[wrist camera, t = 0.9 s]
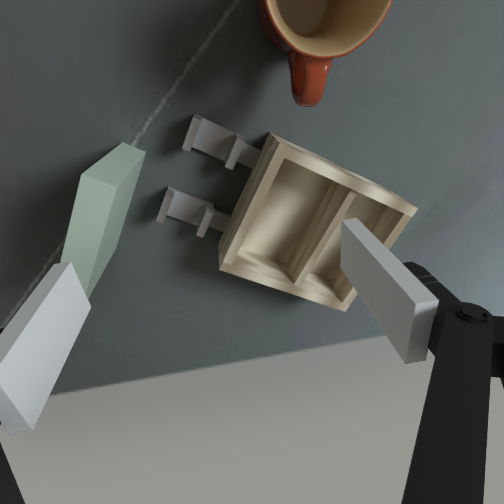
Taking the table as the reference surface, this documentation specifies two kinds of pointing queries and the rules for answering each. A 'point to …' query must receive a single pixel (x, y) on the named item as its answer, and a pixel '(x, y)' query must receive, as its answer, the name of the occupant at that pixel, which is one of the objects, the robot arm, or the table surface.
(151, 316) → the table surface
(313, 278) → the wooden divided box
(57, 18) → the table surface
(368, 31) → the mug
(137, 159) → the block
